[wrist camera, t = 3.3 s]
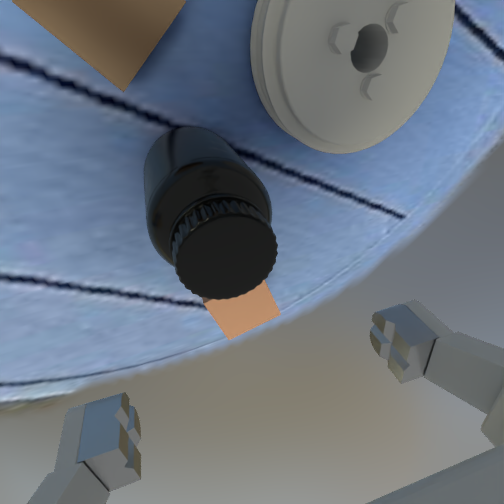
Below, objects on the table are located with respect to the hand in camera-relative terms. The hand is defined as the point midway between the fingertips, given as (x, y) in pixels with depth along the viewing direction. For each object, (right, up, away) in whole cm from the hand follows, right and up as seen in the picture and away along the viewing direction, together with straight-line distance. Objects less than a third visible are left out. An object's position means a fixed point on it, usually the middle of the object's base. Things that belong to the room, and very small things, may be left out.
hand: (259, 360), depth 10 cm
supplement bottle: (-5, +10, +14) cm, 17 cm away
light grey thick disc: (+5, +18, +12) cm, 22 cm away
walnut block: (-8, +17, +8) cm, 20 cm away
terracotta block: (-2, +1, +20) cm, 20 cm away
